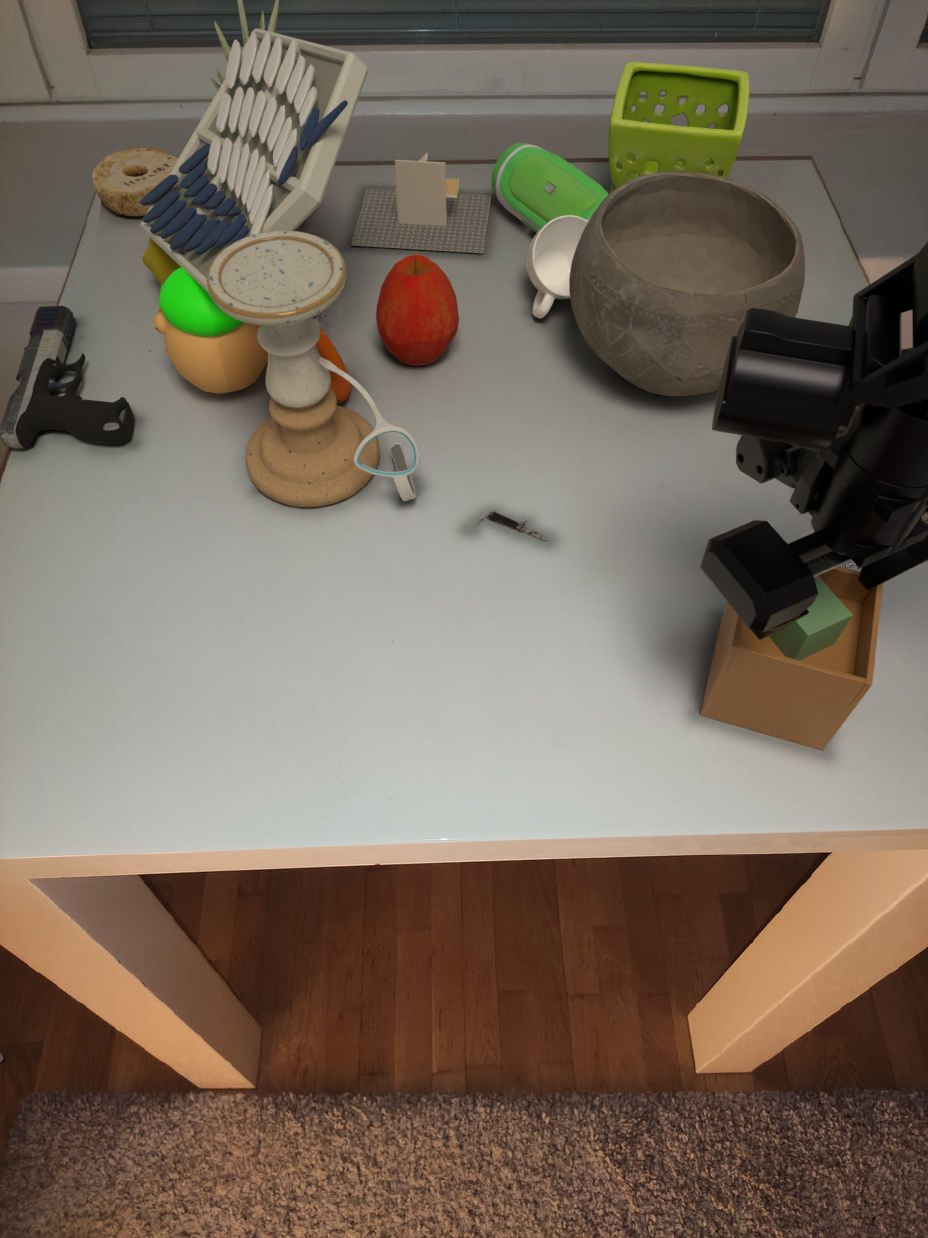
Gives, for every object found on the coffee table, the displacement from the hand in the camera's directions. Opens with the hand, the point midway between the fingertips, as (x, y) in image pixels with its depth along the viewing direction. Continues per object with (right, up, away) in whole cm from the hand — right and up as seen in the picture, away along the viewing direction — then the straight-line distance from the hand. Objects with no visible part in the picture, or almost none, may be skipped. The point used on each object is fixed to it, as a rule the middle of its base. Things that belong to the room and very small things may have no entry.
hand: (811, 608), depth 63 cm
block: (0, -2, +3) cm, 3 cm away
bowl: (-4, +25, +29) cm, 39 cm away
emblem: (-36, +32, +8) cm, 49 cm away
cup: (-15, +36, +35) cm, 53 cm away
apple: (-29, +27, +30) cm, 49 cm away
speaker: (-11, +48, +37) cm, 61 cm away
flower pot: (-1, +48, +44) cm, 65 cm away
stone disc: (-59, +48, +42) cm, 86 cm away
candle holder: (-38, +14, +22) cm, 46 cm away
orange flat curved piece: (-36, +22, +27) cm, 50 cm away
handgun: (-56, +24, +27) cm, 66 cm away
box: (0, -6, +9) cm, 10 cm away
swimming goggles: (-34, +14, +15) cm, 40 cm away
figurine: (-48, +23, +28) cm, 60 cm away
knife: (-21, +6, +16) cm, 27 cm away
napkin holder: (-29, +45, +43) cm, 69 cm away
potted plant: (-46, +47, +43) cm, 79 cm away
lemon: (-52, +35, +36) cm, 72 cm away
